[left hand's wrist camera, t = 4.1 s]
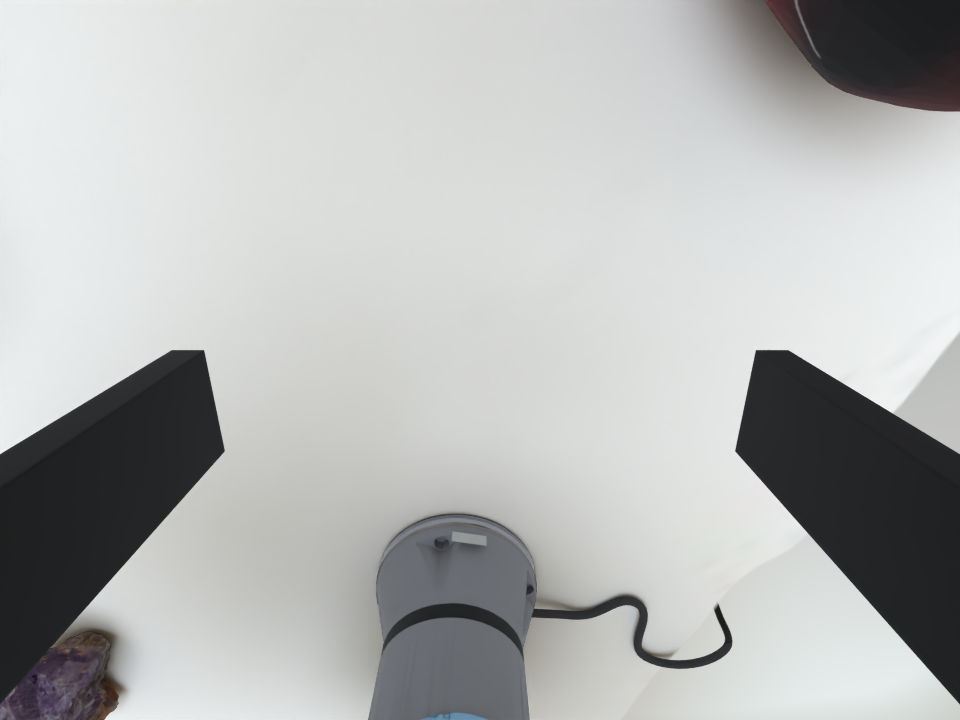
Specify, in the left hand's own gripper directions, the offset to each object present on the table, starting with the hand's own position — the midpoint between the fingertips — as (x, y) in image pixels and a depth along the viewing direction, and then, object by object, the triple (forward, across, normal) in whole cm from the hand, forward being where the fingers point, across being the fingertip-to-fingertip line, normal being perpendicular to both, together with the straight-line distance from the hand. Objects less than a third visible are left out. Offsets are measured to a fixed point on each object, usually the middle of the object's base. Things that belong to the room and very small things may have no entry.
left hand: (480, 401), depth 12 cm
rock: (+28, -42, -44) cm, 67 cm away
